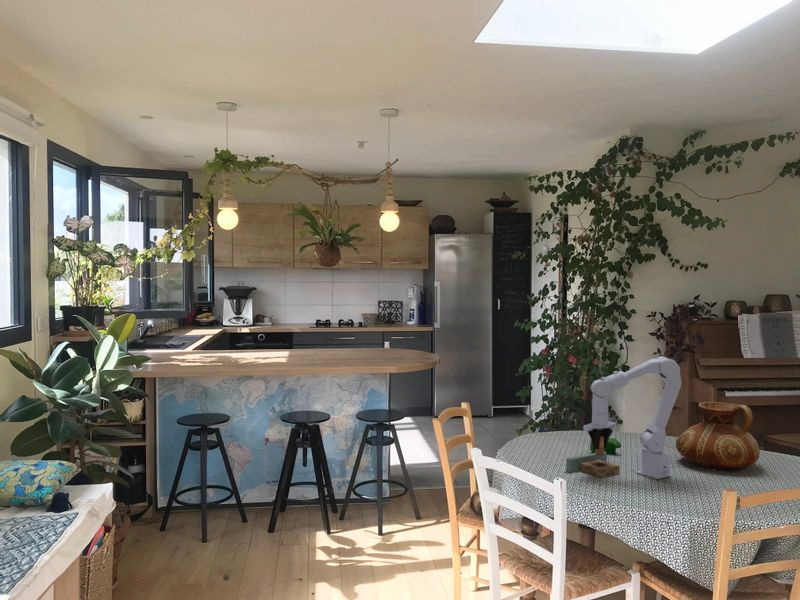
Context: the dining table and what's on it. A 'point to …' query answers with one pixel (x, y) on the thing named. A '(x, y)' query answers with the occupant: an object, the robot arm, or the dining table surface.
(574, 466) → the wall
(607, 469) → the square frame
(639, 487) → the dining table surface
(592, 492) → the dining table surface
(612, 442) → the clamp
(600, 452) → the dowel
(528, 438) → the dining table surface
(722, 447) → the jug
